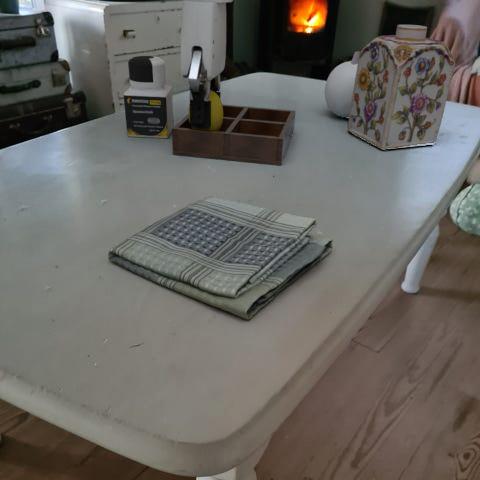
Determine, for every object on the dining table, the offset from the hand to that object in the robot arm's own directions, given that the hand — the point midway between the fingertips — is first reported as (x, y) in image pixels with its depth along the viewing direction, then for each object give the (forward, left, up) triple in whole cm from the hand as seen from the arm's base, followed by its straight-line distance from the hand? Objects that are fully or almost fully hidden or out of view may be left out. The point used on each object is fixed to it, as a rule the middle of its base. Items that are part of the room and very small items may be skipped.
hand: (205, 121), depth 83 cm
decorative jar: (+30, +15, -5) cm, 34 cm away
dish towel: (+11, -35, -5) cm, 37 cm away
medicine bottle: (-12, +6, -5) cm, 14 cm away
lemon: (0, 0, -3) cm, 3 cm away
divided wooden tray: (+4, +4, -4) cm, 8 cm away
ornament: (+22, +28, -5) cm, 36 cm away
